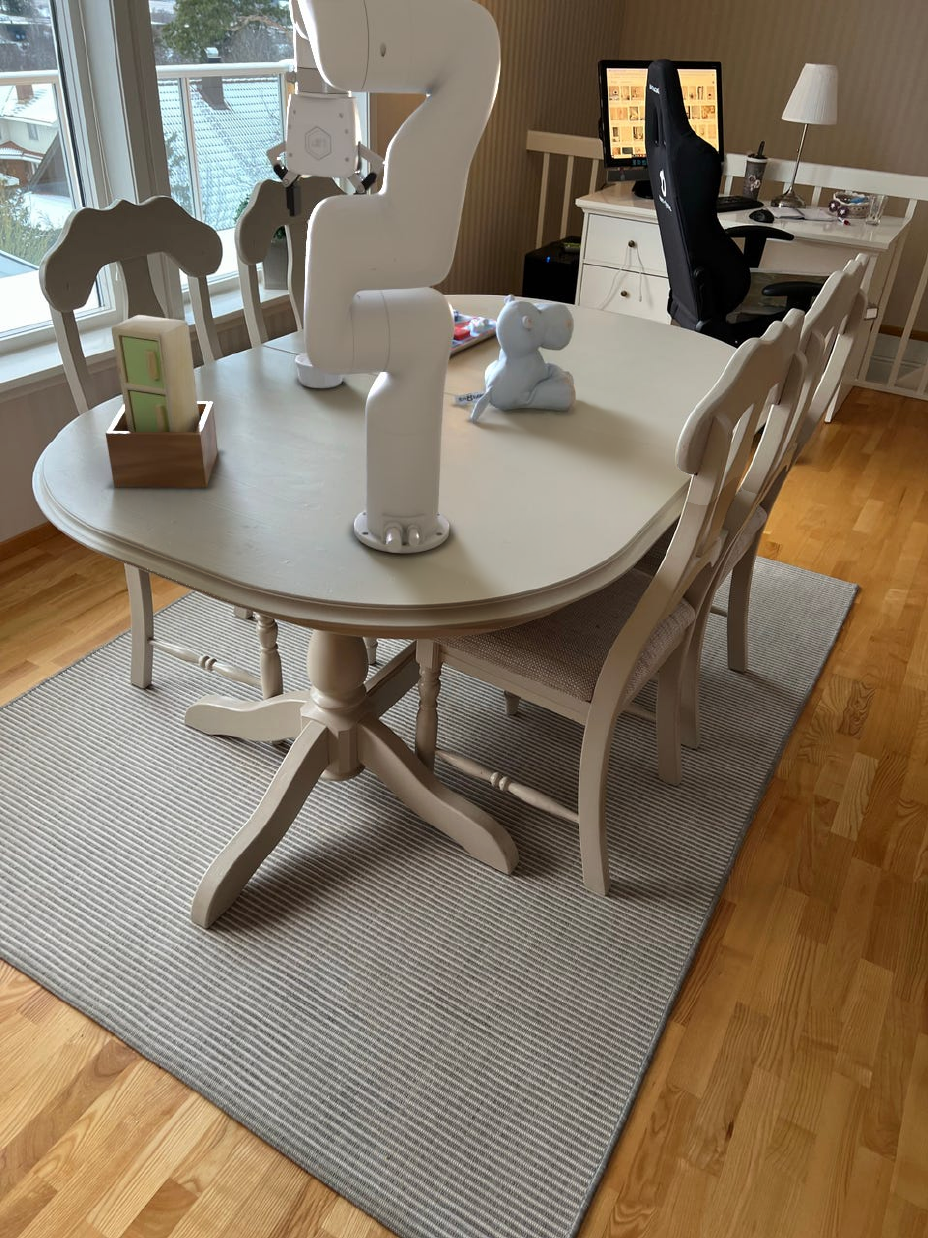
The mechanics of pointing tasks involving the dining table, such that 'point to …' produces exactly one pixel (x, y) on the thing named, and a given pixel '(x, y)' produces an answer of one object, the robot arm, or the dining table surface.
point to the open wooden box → (163, 454)
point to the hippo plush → (527, 360)
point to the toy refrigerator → (156, 374)
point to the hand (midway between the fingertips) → (327, 218)
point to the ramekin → (314, 374)
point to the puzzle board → (470, 331)
